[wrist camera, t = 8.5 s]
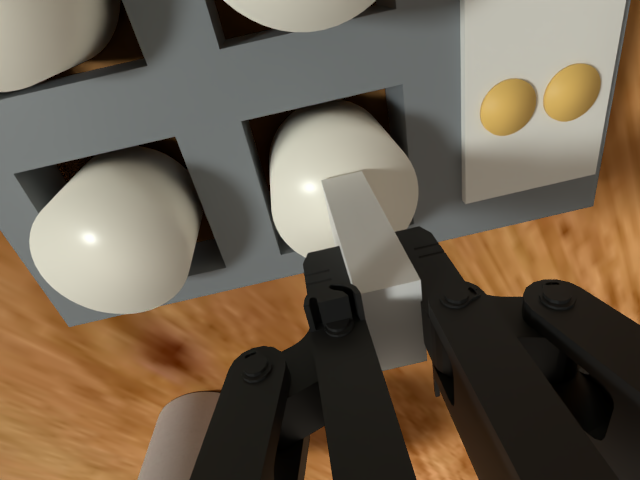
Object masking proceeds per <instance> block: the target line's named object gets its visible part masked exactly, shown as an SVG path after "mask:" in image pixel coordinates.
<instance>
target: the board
mask: <svg viewBox="0 0 640 480" xmlns="http://www.w3.org/2000/svg"><path fill="white" fill-rule="evenodd" d="M630 1H631V0H376V5H374V6H370V7H368V8H367V9H366V10H364V11H363V12H361V13H360V14H358V15H357V16H355V17H354V18H352V19H351V20H348V21H346V22H344V23H342V24H340V25H338V26H335V27H331V28H328V29H325V30H320V31H314V32H289V31H281V30H277V29H269V30H265V31H261V32H256V33H252V34H248V35H243V36H239V37H235V38H230V39H226V40H225V36H224V33H223V29H222V26H221V22H220V19H219V15H218V12H217V8H216V5H215V1H214V0H122V2H123V4H124V7H125V9H126V12H127V14H128V17H129V19H130V22H131V25H132V27H133V30H134V32H135V35H136V37H137V40H138V43H139V45H140V48H141V50H142V53H143V55H144V58H143V59H139V60H135V61H130V62H126V63H121V64H117V65H113V66H108V67H104V68H100V69H95V70H91V71H87V72H82V73H78V74H74V75H69V76H65V77H61V78H56V79H52V80H47V81H43V82H39V83H37V84H35V85H32V86H30V87H27V88H24V89H20V90H16V91H9V92H0V230H1V232H2V233H3V235H4V236H5V237H6V239H7V240H8V242H9V243H10V244H11V246H12V247H13V249H14V250H15V252H16V253H17V254H18V256H19V257H20V259H21V260H22V261H23V263H24V264H25V266H26V267H27V268H28V270H29V271H30V273H31V274H32V275H33V277H34V278H35V280H36V281H37V282H38V284H39V285H40V287H41V288H42V289H43V291H44V292H45V294H46V295H47V296H48V298H49V299H50V301H51V302H52V303H53V305H54V306H55V308H56V309H57V311H58V312H59V313H60V315H61V316H62V318H63V319H64V320H65V322H66V323H67V325H68V326H69V327H71V326H75V325H80V324H84V323H89V322H93V321H97V320H102V319H106V318H110V317H115V316H119V315H123V314H113V313H105V312H100V311H96V310H92V309H89V308H86V307H84V306H81V305H79V304H77V303H75V302H73V301H71V300H69V299H67V298H66V297H64V296H63V295H61V294H60V293H58V292H57V291H56V290H55V289H53V288H52V287H51V286H50V285H49V284H48V283H47V282H46V280H45V279H44V278H43V277H42V275H41V274H40V273H39V271H38V269H37V268H36V266H35V264H34V261H33V259H32V256H31V252H30V244H29V239H30V231H31V228H32V224H33V222H34V221H35V219H36V217H37V215H38V214H39V213H40V212H41V210H42V209H43V208H44V207H45V206H46V205H47V204H48V203H49V202H50V201H51V200H52V199H53V198H54V197H55V196H56V194H57V193H58V192H59V191H60V190H61V189H62V188H63V187H64V186H65V185H66V184H67V183H66V181H65V179H64V177H63V176H62V174H61V172H60V170H59V169H58V167H57V165H56V164H58V163H62V162H67V161H71V160H75V159H80V158H84V157H88V156H93V155H97V154H101V153H106V152H110V151H114V150H119V149H123V148H128V147H132V146H136V145H141V144H145V143H149V142H154V141H158V140H162V139H167V138H171V137H176V140H177V142H178V145H179V148H180V150H181V153H182V155H183V158H184V160H185V163H186V165H187V168H188V171H189V173H190V176H191V178H192V181H193V183H194V186H195V188H196V191H197V194H198V196H199V199H200V201H201V204H202V206H203V209H204V212H205V214H206V217H207V219H208V222H209V224H210V227H211V229H212V232H213V235H214V237H215V238H214V239H210V240H206V241H201V242H197V243H196V245H195V249H194V253H193V257H192V261H191V266H190V270H189V273H188V276H187V279H186V281H185V283H184V285H183V287H182V288H181V290H180V291H179V292H178V293H177V294H176V295H175V296H174V297H173V298H172V299H170V300H169V301H168V302H166V303H164V304H163V305H167V304H171V303H175V302H180V301H184V300H188V299H193V298H197V297H201V296H206V295H210V294H214V293H219V292H223V291H227V290H232V289H236V288H240V287H245V286H249V285H253V284H258V283H262V282H266V281H271V280H275V279H279V278H284V277H288V276H292V275H297V274H301V273H304V269H303V262H304V260H305V257H303V256H302V255H300V254H298V253H297V252H296V251H294V250H293V249H292V248H291V247H290V246H289V245H288V244H287V243H286V242H285V241H284V240H283V238H282V237H281V236H280V234H279V232H278V230H277V229H276V226H275V223H274V221H273V216H272V210H271V197H270V193H269V190H268V186H267V183H266V179H265V176H264V172H263V169H262V165H261V162H260V158H259V155H258V151H257V148H256V144H255V141H254V137H253V134H252V130H251V127H250V123H249V119H254V118H258V117H262V116H267V115H271V114H275V113H280V112H284V111H288V110H293V109H297V108H301V107H306V106H310V105H315V104H319V103H323V102H328V101H332V100H336V99H341V98H345V97H349V96H354V95H358V94H362V93H367V92H371V91H375V90H380V89H384V88H385V91H386V101H387V110H388V120H389V129H390V137H391V138H392V139H393V140H394V141H395V143H396V144H397V145H398V146H399V147H400V148H401V150H402V151H403V152H404V153H405V154H406V156H407V157H408V159H409V160H410V162H411V164H412V166H413V168H414V170H415V173H416V176H417V181H418V202H417V207H416V210H415V214H414V216H413V218H412V221H411V222H410V224H409V226H408V228H407V229H409V228H413V227H418V226H420V227H422V228H423V229H425V230H427V231H429V232H431V233H432V234H433V236H434V237H435V239H436V240H437V242H440V241H444V240H448V239H453V238H457V237H461V236H466V235H470V234H474V233H479V232H483V231H487V230H492V229H496V228H500V227H505V226H509V225H513V224H518V223H522V222H527V221H531V220H535V219H540V218H544V217H548V216H553V215H557V214H561V213H566V212H570V211H574V210H579V209H583V208H587V207H592V206H593V204H594V199H595V193H596V188H597V182H598V177H599V171H600V166H601V160H602V155H603V150H604V144H605V139H606V133H607V128H608V122H609V117H610V111H611V106H612V100H613V95H614V89H615V84H616V78H617V73H618V67H619V62H620V56H621V51H622V45H623V40H624V34H625V29H626V23H627V18H628V12H629V7H630ZM161 306H162V305H161Z"/></svg>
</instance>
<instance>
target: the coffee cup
mask: <svg viewBox="0 0 640 480" xmlns="http://www.w3.org/2000/svg"><path fill="white" fill-rule="evenodd" d="M219 396H220V393H218V392H196V393H190V394H187V395H183V396H181V397H178V398H176V399H174V400H173V401H171V402H170V403H168V404H167V405H166V406H165V407H164V408H163V409H162V411H161V413H160V415H159V417H158V420H157V423H156V426H155V429H154V432H153V435H152V438H151V441H150V444H149V447H148V450H147V453H146V456H145V459H144V462H143V465H142V468H141V471H140V474H139V477H138V480H189V479H190V476H191V474H192V471H193V468H194V465H195V463H196V460H197V457H198V454H199V451H200V449H201V446H202V443H203V440H204V437H205V435H206V432H207V429H208V426H209V424H210V421H211V418H212V415H213V412H214V410H215V407H216V404H217V401H218V398H219Z"/></svg>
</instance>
